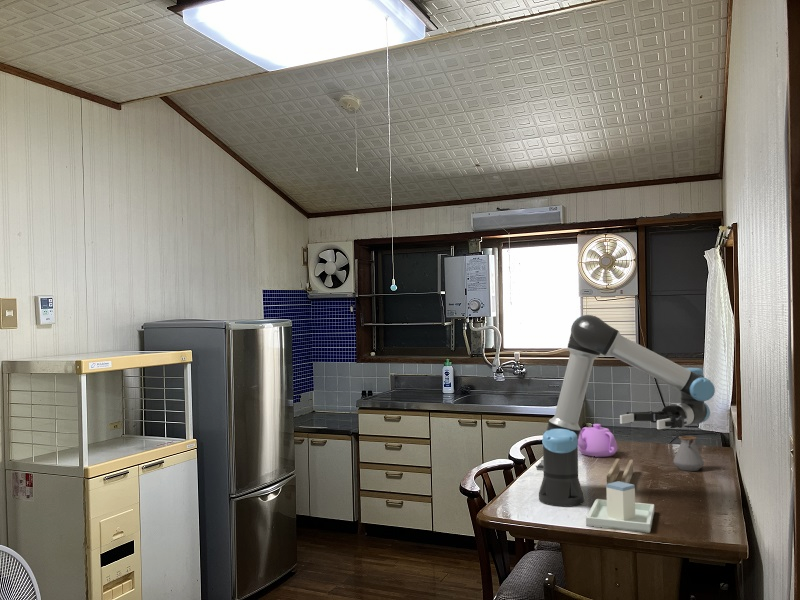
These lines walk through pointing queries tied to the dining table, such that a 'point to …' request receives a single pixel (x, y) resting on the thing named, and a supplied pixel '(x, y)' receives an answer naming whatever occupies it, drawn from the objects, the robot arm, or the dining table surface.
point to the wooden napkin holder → (615, 470)
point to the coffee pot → (688, 455)
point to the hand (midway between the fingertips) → (638, 422)
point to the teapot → (597, 441)
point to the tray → (639, 523)
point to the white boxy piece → (620, 500)
